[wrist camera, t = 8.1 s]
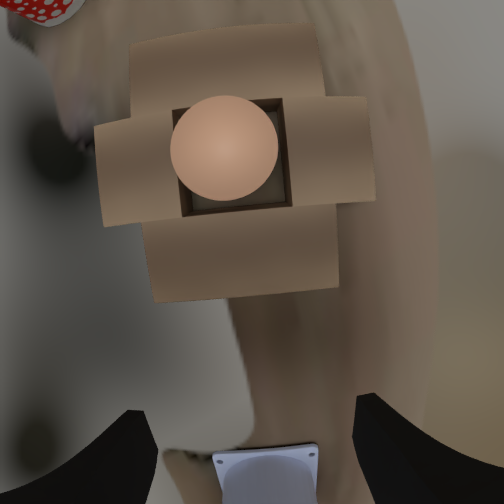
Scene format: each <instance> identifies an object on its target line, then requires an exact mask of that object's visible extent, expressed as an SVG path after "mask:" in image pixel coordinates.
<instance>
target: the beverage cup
mask: <svg viewBox="0 0 504 504" xmlns="http://www.w3.org/2000/svg"><path fill="white" fill-rule="evenodd" d="M84 2H85V0H0V6H1V7H4V8H6V9H8V10H10V11H12V12H14V13H17V14H19V15H21V16H23V17H25V18H27V19H29V20H31V21H33V22H35V23H37V24H39V25H41V26H46V27H52V26H55V25H59V24H61V23H62V22H64V21H66V20H67V19H69V18H71V17H72V16H73V15H74V14H75V13H76V12H77V11H78V10H79V9H80V8H81V6H82V5H83V3H84Z"/></svg>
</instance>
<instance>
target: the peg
mask: <svg viewBox="0 0 504 504" xmlns="http://www.w3.org/2000/svg"><path fill="white" fill-rule="evenodd" d="M170 154H171V161H172V164H173V167H174V169H175V172H176V174H177V175H178V177H179V178H180V180H181V181H182V182H183V183H184V185H186V186H187V187H188V188H189V189H190V190H191V191H193V192H194V193H196V194H198V195H200V196H202V197H205V198H208V199H212V200H219V201H227V200H234V199H238V198H242V197H244V196H246V195H249V194H250V193H252V192H254V191H255V190H256V189H258V188H259V187H260V186H261V185H262V184H263V183H264V182H265V181H266V180H267V178H268V177H269V176H270V174H271V172H272V170H273V168H274V166H275V163H276V160H277V155H278V139H277V134H276V131H275V128H274V126H273V124H272V122H271V120H270V119H269V117H268V116H267V115H266V114H265V112H264V111H263V110H262V109H260V108H259V107H258V106H257V105H255V104H254V103H252V102H250V101H248V100H246V99H243V98H240V97H235V96H226V95H225V96H215V97H211V98H207V99H205V100H202V101H200V102H198V103H197V104H195V105H193V106H192V107H191V108H190V109H188V110H187V111H186V112H185V113H184V114H183V116H182V117H181V118H180V120H179V121H178V123H177V125H176V126H175V129H174V131H173V134H172V138H171V145H170Z"/></svg>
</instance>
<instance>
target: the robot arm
mask: <svg viewBox="0 0 504 504" xmlns="http://www.w3.org/2000/svg"><path fill="white" fill-rule="evenodd" d="M352 438H353V443H354V447H355V451H356V454H357V458H358V462H359V464H360V467H361V469H362V472H363V474H364V477H365V479H366V481H367V484H368V486H369V489H370V491H371V494H372V496H373V499H374V501H375V504H504V468H503V467H498V466H495V465H491V464H488V463H485V462H482V461H479V460H477V459H474V458H471V457H469V456H466V455H464V454H461V453H459V452H457V451H455V450H453V449H451V448H450V447H448V446H446V445H444V444H442V443H440V442H439V441H437V440H435V439H434V438H432V437H431V436H429V435H427V434H426V433H424V432H423V431H421V430H420V429H419V428H417V427H416V426H415V425H413V424H412V423H411V422H409V421H408V420H407V419H405V418H404V417H403V416H401V415H400V414H399V413H398V412H397V411H395V410H394V409H393V408H392V407H391V406H389V405H388V404H387V403H386V402H385V401H383V400H382V399H381V398H380V397H379V396H377V395H376V394H375V393H369V394H364V395H359V396H357V399H356V409H355V418H354V426H353V434H352ZM157 455H158V448H157V445H156V443H155V441H154V438H153V435H152V433H151V430H150V427H149V425H148V422H147V420H146V417H145V414H144V411H139V410H138V411H137V410H127V411H126V412H125V413H124V414H122V415H121V416H120V417H119V418H118V419H117V420H116V421H115V422H114V423H113V424H112V425H110V426H109V427H108V428H107V429H106V430H105V431H104V432H103V433H102V434H101V435H100V436H99V437H97V438H96V439H95V440H94V441H93V442H92V443H91V444H89V445H88V446H87V447H85V448H84V449H83V450H82V451H80V452H79V453H78V454H77V455H75V456H74V457H73V458H71V459H70V460H69V461H67V462H66V463H64V464H63V465H61V466H60V467H58V468H57V469H55V470H53V471H52V472H50V473H48V474H46V475H45V476H43V477H41V478H39V479H37V480H34V481H32V482H30V483H28V484H26V485H24V486H21V487H19V488H16V489H13V490H10V491H7V492H4V493H1V494H0V504H145V503H146V500H147V496H148V494H149V490H150V487H151V484H152V481H153V477H154V474H155V468H156V463H157ZM212 458H213V462H214V465H215V469H216V472H217V475H218V479H219V482H220V486H221V489H222V492H223V498H222V504H318V502H317V497H316V483H317V467H318V446H317V445H316V444H305V445H298V446H289V447H279V448H268V449H254V450H235V451H216V452H214V453H213V457H212ZM220 460H221V461H220Z"/></svg>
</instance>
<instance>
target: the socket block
mask: <svg viewBox="0 0 504 504" xmlns="http://www.w3.org/2000/svg"><path fill="white" fill-rule="evenodd" d="M129 81H130V109H131V118H127V119H123V120H118V121H114V122H110V123H106V124H101V125H98V126H94V136H95V152H96V164H97V175H98V185H99V194H100V202H101V210H102V218H103V224H104V227H110V226H117V225H124V224H132V223H140V222H141V226H142V233H143V240H144V246H145V252H146V259H147V265H148V271H149V276H150V282H151V288H152V293H153V298H154V303H167V302H182V301H196V300H210V299H221V298H235V297H246V296H257V295H268V294H279V293H289V292H298V291H308V290H317V289H326V288H335V287H339V257H338V231H337V212H336V203H349V202H365V201H376V190H375V175H374V162H373V151H372V140H371V131H370V122H369V114H368V107H367V99H366V97H354V96H326V95H325V88H324V81H323V74H322V67H321V61H320V54H319V48H318V42H317V37H316V31H315V25H314V23H272V24H254V25H241V26H230V27H221V28H213V29H205V30H199V31H192V32H186V33H180V34H175V35H169V36H164V37H159V38H155V39H150V40H146V41H142V42H137V43H133V44H129ZM225 95H226V96H235V97H240V98H243V99H246V100H248V101H250V102H252V103H254V104H255V105H257V106H258V107H259V108H260V109H262V110H263V111H264V112H271V111H277V116H278V126H279V135H280V145H281V156H282V166H283V177H284V189H285V201H286V202H280V203H269V204H258V205H247V206H237V207H227V208H217V209H207V210H198V211H193V205H192V196H191V190H190V189H189V188H188V187H187V186H186V185H184V183H183V182H182V181H181V180H180V178H179V177H178V175H177V174H176V172H175V169H174V167H173V164H172V161H171V154H170V145H171V138H172V134H173V131H174V129H175V126H176V125H177V123H178V121H179V120H180V118H181V117H182V116H183V114H184V113H185V112H186V111H187V110H188V109H190V108H191V107H192V106H193V105H195V104H197V103H198V102H200V101H202V100H205V99H207V98H211V97H215V96H225Z"/></svg>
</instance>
